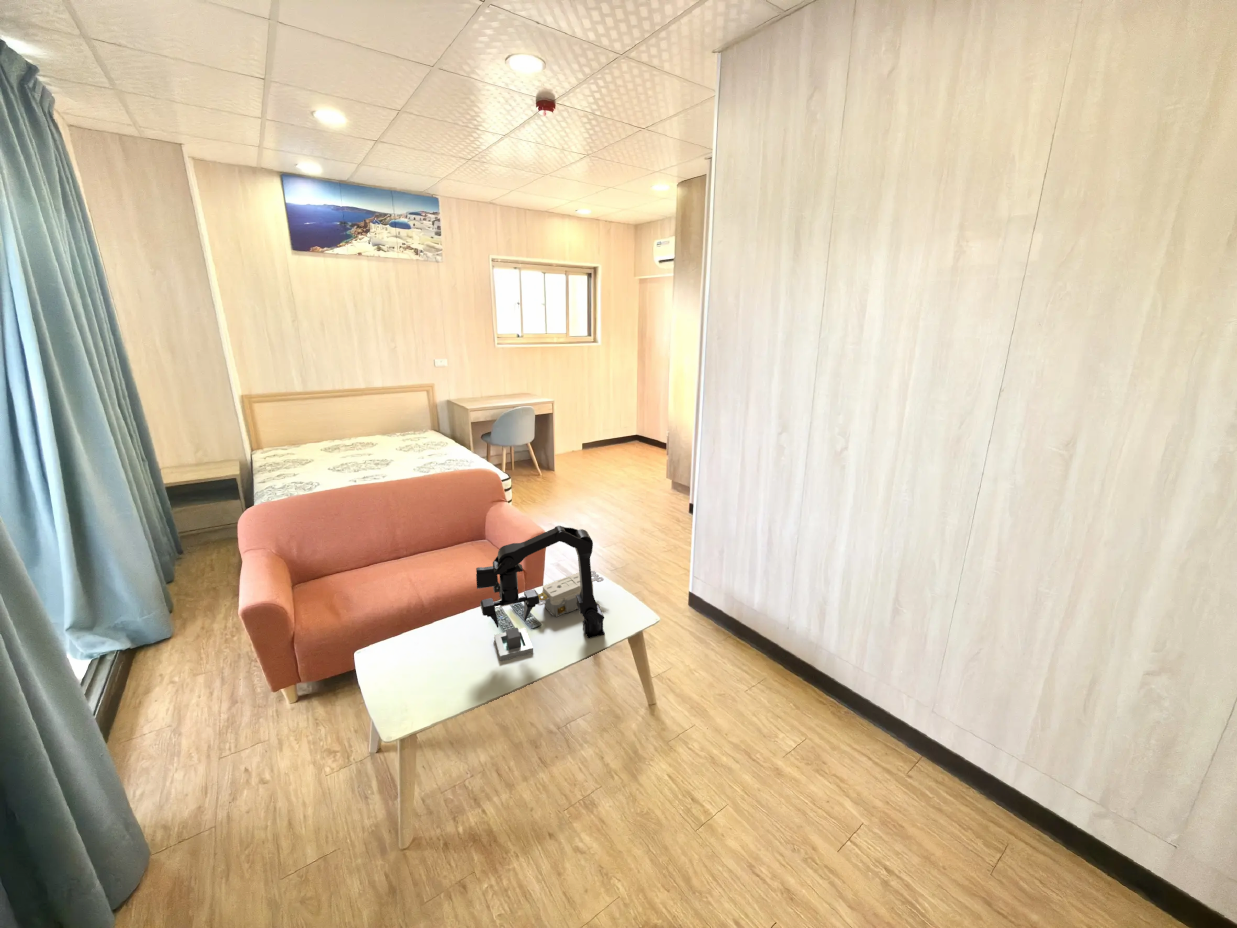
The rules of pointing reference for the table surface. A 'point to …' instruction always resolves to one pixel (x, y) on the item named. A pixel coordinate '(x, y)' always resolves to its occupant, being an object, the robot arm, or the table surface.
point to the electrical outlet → (563, 594)
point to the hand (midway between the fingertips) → (511, 623)
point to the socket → (523, 650)
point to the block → (513, 638)
